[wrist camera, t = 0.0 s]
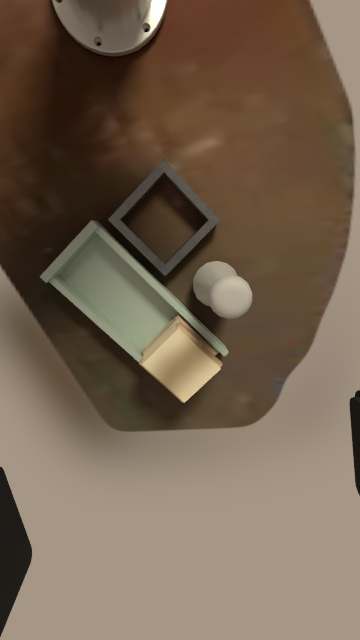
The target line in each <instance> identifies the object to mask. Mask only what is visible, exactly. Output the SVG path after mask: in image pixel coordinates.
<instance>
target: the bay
mask: <svg viewBox="0 0 360 640" xmlns="http://www.w3.org/2000/svg"><path fill="white" fill-rule="evenodd" d="M40 278H41V279H42V280H44V281H45V282H46V283H47V282H50V283H51V284H52V285H53V286H54V287H55V288H56V289H58V290H59V291H60V292H61V293H62V294H63V295H64V296H65V297H66V298H68V299H69V300H70V301H71V302H72V303H73V304H74V305H75V306H76V307H78V308H79V309H80V310H81V311H82V312H83V313H84V314H85V315H86V316H88V317H89V318H90V319H91V320H92V321H93V322H94V323H95V324H97V325H98V326H99V327H100V328H101V329H102V330H103V331H104V332H105V333H107V334H108V335H109V336H110V337H111V338H112V339H113V340H114V341H115V342H117V343H118V344H119V345H120V346H121V347H122V348H123V349H124V350H125V351H127V352H128V353H129V354H130V355H131V356H132V357H133V358H134V359H135V360H137V361H138V362H140V360H142V359H143V353H142V352H141V351H142V349H143V348H144V347H145V345H146V344H147V343H148V342H149V341H150V340H151V339H152V338H153V337H154V336H155V335H156V334H157V333H158V332H159V331H160V330H161V329H162V328H163V327H164V326H165V325H166V324H167V323H168V322H169V321H171V320H172V319H173V318H174V317H175V316H176V315H178V314H179V315H180V316H181V317H182V318H183V319H184V320H185V321H186V322H187V323H188V324H189V325H190V326H191V327H192V328H193V329H194V330H195V331H196V332H197V333H198V334H199V335H200V336H201V337H202V338H203V339H204V340H205V341H207V342H208V343H209V344H210V345H211V346H212V347H213V348H214V349H215V350H216V351H217V354H218V353H219V352H220V353H221V354H222V355H223V356H226V355H227V354H228V353H229V352H228V350H227V348H226V347H225V345H224V344H223V343H222V342H221V341H220V340H219V339H218V338H217V337H216V336H215V335H214V334H213V333H212V332H211V331H210V330H209V329H208V328H206V327H205V326H204V325H203V324H202V323H201V322H200V321H199V320H198V319H197V318H196V317H195V316H194V315H193V314H192V313H191V312H190V311H189V310H188V309H187V308H186V307H185V306H184V305H183V304H182V303H181V302H180V301H179V300H178V299H177V298H176V297H175V296H174V295H173V294H172V293H171V292H170V291H169V290H168V289H167V288H166V287H165V286H164V285H163V284H161V283H160V282H159V281H158V280H157V279H156V278H155V277H154V276H153V275H152V274H151V273H150V272H149V271H148V270H147V269H146V268H145V267H144V266H143V265H142V264H141V263H140V262H139V261H138V260H137V259H136V258H135V257H134V256H133V255H132V254H131V253H130V252H129V251H128V250H127V249H126V248H125V247H124V246H123V245H122V244H121V243H120V242H119V241H118V240H116V239H115V238H114V237H113V236H112V235H111V234H110V233H109V232H108V231H107V230H106V229H105V228H104V227H103V226H102V225H101V224H100V223H99V222H98V221H94V220H91V221H90V222H89V223H88V225H87V226H86V227H85V228H84V229H83V230H82V231H81V232H80V233H79V234H78V235H77V237H76V238H75V239H74V240H73V241H72V242H71V243H70V244H69V245H68V246H67V247H66V249H65V250H64V251H63V252H62V253H61V254H60V255H59V256H58V257H57V258H56V259H55V261H54V262H53V263H52V264H51V265H50V266H49V267H48V268H47V269H46V270H45V271H44V273H43V274H42V275H41V276H40ZM217 354H216V355H217ZM216 355H215V356H216Z"/></svg>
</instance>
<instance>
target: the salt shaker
mask: <svg viewBox="0 0 360 640" xmlns="http://www.w3.org/2000/svg"><path fill="white" fill-rule="evenodd" d="M193 290H194V292H195V295H196V297H197V299H198V300H199V301H201V302H202V303H203V304H205V305H207V306H211V308H212V310H213V311H214V312H215V313H216V314H218V315H219V316H221V317H224V318H229V319H233V318H237V317H240V316H241V315H243V314H244V313H246V312H247V311H248V309H249V307H250V305H251V303H252V292H251V289H250V287H249V285H248V283H247V282H246V281H244V280H243V279H242V278H241V277H238V276H237V274H236V272H235V270H234V269H233V268H232V267H231V266H229V265H228V264H227V263H223V262H219V261H214V262H210V263H206V264H205V265H204V266H202V267H201V268H200V269H199V270H198V271H197V273H196V275H195V277H194V279H193Z"/></svg>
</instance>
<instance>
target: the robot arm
mask: <svg viewBox="0 0 360 640" xmlns="http://www.w3.org/2000/svg"><path fill="white" fill-rule="evenodd" d="M60 1H62V2H61V3H59V2H60ZM52 2H53V5H54V8H55V11H56V13H57V15H58V17H59V19H60V21H61V23H62V24H63V26H64V27H65V29H66V30H67V32H68V33H69V34H70V35H71V36H72V37H73V38H74V39H75V41H77V42H78V43H79V44H81V45H82V46H83V47H84V48H86V49H88V50H90V51H92V52H94V53H97V54H101V55H104V56H122V55H128V54H130V53H132V52H135V51H137V50H139V49H140V48H142V47H143V46H144V45H146V44H147V43H148V42H149V41H150V40H151V39H152V38H153V37H154V35H155V34H156V32H157V31H158V29H159V27H160V26H161V23H162V21H163V18H164V16H165V12H166V7H167V3H168V0H52ZM146 30H148V31H149V32H145V31H146ZM98 44H101V45H100V46H97V45H98ZM350 414H351V415H350V416H351V428H352V442H353V456H354V469H355V482H356V487H357V490H358V493H359V495H360V390H359V391H357V392H356V393H355V397H353V398H351V399H350ZM31 557H32V548H31V544H30V541H29V539H28V536H27V533H26V530H25V528H24V525H23V522H22V519H21V517H20V514H19V511H18V508H17V506H16V503H15V500H14V498H13V495H12V492H11V489H10V486H9V484H8V481H7V478H6V475H5V473H4V470H3V468H2V467H0V636H1V634H2V631H3V629H4V627H5V624H6V621H7V619H8V616H9V614H10V612H11V609H12V607H13V605H14V602H15V600H16V597H17V595H18V592H19V590H20V587H21V585H22V582H23V580H24V577H25V575H26V573H27V570H28V568H29V565H30V563H31Z"/></svg>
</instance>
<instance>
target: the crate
mask: <svg viewBox="0 0 360 640" xmlns="http://www.w3.org/2000/svg"><path fill="white" fill-rule="evenodd" d="M141 352H142V353H143V359H142V360H140V362H139V364H140V365H141V366H142V367H143V368H144V369H145V370H146V371H148V372H149V373H150V374H151V375H152V376H153V377H154V378H155V379H156V380H158V381H159V382H160V383H161V384H162V385H163V386H164V387H165V388H166V389H168V390H169V391H170V392H171V393H172V394H173V395H174V396H175V397H177V398H178V399H179V400H180V401H181V402H184V403H185V402H186V401H187V400H188V399H189V398H190V397H191V396H192V395H193V394H195V393H196V392H197V391H198V390H199V389H200V388H201V387H202V386H203V385H204V384H205V383H206V382H207V381H208V380H209V379H211V378H212V377H213V376H214V375H215V374H216V373H217V372H218V371H219V370H220V369H221V368H220V367H221V366H222V365H223V364H222V362H221V361H220V360H219V359H218V358H216V357H215V355H216V354H217V351H216V350H215V349H214V348H213V347H212V346H211V345H210V344H209V343H208V342H207V341H205V340H204V339H203V338H202V337H201V336H200V335H199V334H198V333H197V332H196V331H195V330H194V329H193V328H192V327H191V326H190V325H189V324H188V323H187V322H186V321H185V320H184V319H183V318H182V317H181V316H180V315H179V314H178V315H176V316H175V317H174V318H173V319H172V320H171V321H169V322H168V323H167V324H166V325H165V326H164V327H163V328H162V329H161V330H160V331H159V332H158V333H157V334H156V335H155V336H154V337H153V338H152V339H151V340H150V341H149V342H148V343H147V344H146V345H145V347H144V348H143V349H142V351H141Z"/></svg>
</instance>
